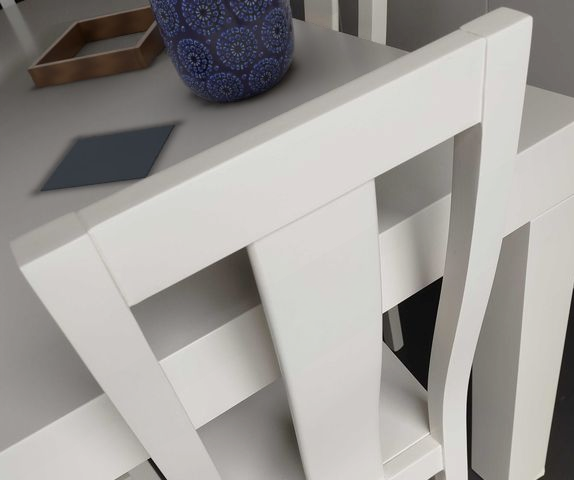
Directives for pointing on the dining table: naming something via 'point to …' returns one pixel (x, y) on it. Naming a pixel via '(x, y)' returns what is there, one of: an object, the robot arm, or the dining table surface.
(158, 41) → the tray
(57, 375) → the dining table surface
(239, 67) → the planter
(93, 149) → the mat
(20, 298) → the dining table surface
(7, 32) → the dining table surface
